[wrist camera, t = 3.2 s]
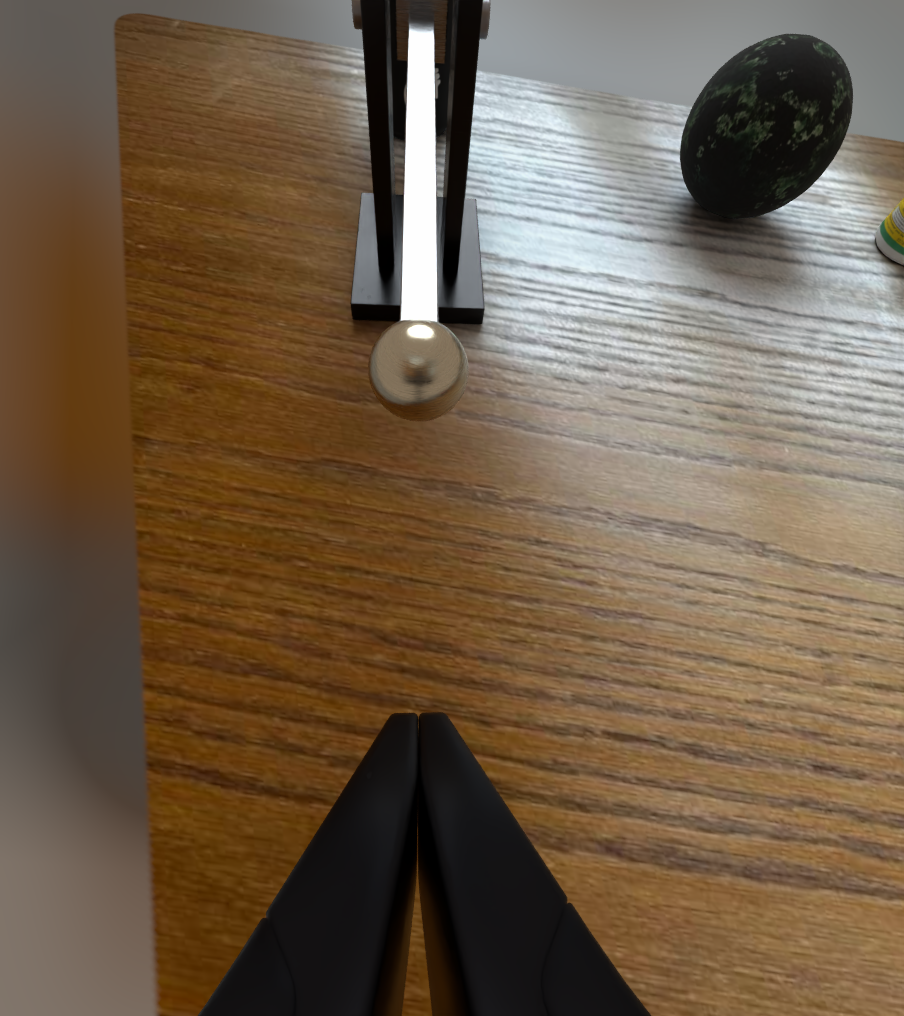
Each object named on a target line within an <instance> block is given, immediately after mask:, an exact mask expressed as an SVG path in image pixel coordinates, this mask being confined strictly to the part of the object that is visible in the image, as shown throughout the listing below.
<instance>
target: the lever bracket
mask: <svg viewBox="0 0 904 1016" xmlns="http://www.w3.org/2000/svg"><path fill="white" fill-rule="evenodd" d="M352 13H353V22H354V27H355V29H362V35H363V50H364V64H365V79H366V93H367V108H368V122H369V137H370V152H371V166H372V181H373V193H361V202H360V213H359V223H358V233H357V243H356V254H355V264H354V274H353V285H352V295H351V310H352V318H353V319H356V320H383V321H400V295H401V261H402V226H403V195H395V164H394V131H393V98H392V65H391V32H390V0H352ZM489 19H490V0H453V19H452V38H451V56H450V75H449V94H448V112H447V131H446V150H445V168H444V187H443V197H437V247H438V322H439V323H463V324H482V322H483V315H484V297H483V284H482V271H481V258H480V245H479V232H478V219H477V206H476V199H465V191H466V180H467V170H468V159H469V148H470V137H471V126H472V115H473V105H474V94H475V83H476V72H477V61H478V50H479V40H480V39H486V38H487V35H488V29H489Z"/></svg>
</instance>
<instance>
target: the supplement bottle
mask: <svg viewBox="0 0 904 1016" xmlns="http://www.w3.org/2000/svg"><path fill="white" fill-rule="evenodd" d="M875 239H876V243H877V246H878V247H879V249H880V250H881V251H882V253H883V254H884V255H886V256H887V257H888V258H890V259H891V260H893V261H895V262H897V263H899V264H901V265H903V266H904V198H903V199H902V200H901V202H900V203H899V204H898V205H897V206H896V207H895V208H894V210H893V211H892V212H891V213H890V214H889V215H888V216H887V218H886V219H885V220H884V221H883V222H882V223H881V224H880V226H879V227H878V229H877V230H876V233H875Z"/></svg>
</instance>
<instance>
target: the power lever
mask: <svg viewBox="0 0 904 1016" xmlns="http://www.w3.org/2000/svg"><path fill="white" fill-rule="evenodd" d="M395 8H396V49H397V60H399V61H407V87H406V122H405V156H404V191H403V226H402V261H401V295H400V321H399V322H397V323H395V324H393V325H391V326H390V327H388V328H387V329H386V330H385V331H384V332H383V333H382V334H381V335H380V336H379V338H378V339H377V341H376V342H375V344H374V346H373V348H372V351H371V354H370V358H369V364H368V371H369V380H370V384H371V387H372V389H373V392H374V394H375V395H376V397H377V399H378V400H379V401H380V403H381V404H382V405H383V406H384V407H385V408H386V409H387V410H389V411H390V412H391V413H393V414H394V415H396V416H398V417H400V418H403V419H406V420H410V421H428V420H433V419H436V418H438V417H441V416H442V415H444V414H446V413H447V412H448V411H450V410H451V409H452V408H453V407H454V406H455V405H456V404H457V403H458V401H459V400H460V398H461V397H462V395H463V393H464V391H465V388H466V385H467V380H468V361H467V356H466V353H465V350H464V348H463V346H462V344H461V342H460V341H459V339H458V338H457V337H456V336H455V334H454V333H453V332H452V331H451V330H449V329H448V328H447V327H445V326H444V325H442V324H440V323H439V322H438V247H437V172H436V97H435V63H439V64H445V54H446V33H447V12H448V0H395Z"/></svg>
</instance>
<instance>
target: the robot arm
mask: <svg viewBox="0 0 904 1016" xmlns="http://www.w3.org/2000/svg"><path fill="white" fill-rule="evenodd" d="M417 829H418V880H419V892H420V903H421V912H422V922H423V931H424V941H425V950H426V959H427V969H428V978H429V988H430V997H431V1007H432V1016H651V1015H650V1013H649V1012H648V1011H647V1009H646V1008H645V1007H644V1006H643V1004H642V1003H641V1002H640V1000H639V999H638V998H637V997H636V995H635V994H634V993H633V991H632V990H631V989H630V987H629V986H628V985H627V984H626V982H625V981H624V979H623V978H622V977H621V975H620V974H619V972H618V971H617V969H616V968H615V967H614V965H613V964H612V962H611V961H610V959H609V958H608V957H607V955H606V954H605V952H604V951H603V949H602V948H601V947H600V945H599V944H598V942H597V941H596V939H595V938H594V937H593V935H592V934H591V932H590V931H589V929H588V928H587V926H586V925H585V923H584V921H583V920H582V918H581V917H580V915H579V914H578V912H577V911H576V909H575V908H574V906H573V905H572V904H571V903H567V896H566V895H565V893H564V892H563V890H562V889H561V887H560V886H559V884H558V883H557V881H556V880H555V878H554V877H553V875H552V873H551V872H550V870H549V869H548V867H547V866H546V864H545V863H544V861H543V860H542V858H541V857H540V855H539V854H538V852H537V851H536V849H535V848H534V846H533V845H532V843H531V842H530V840H529V839H528V837H527V836H526V834H525V833H524V831H523V830H522V828H521V827H520V825H519V824H518V822H517V820H516V819H515V817H514V816H513V814H512V813H511V811H510V810H509V808H508V807H507V805H506V804H505V802H504V801H503V799H502V798H501V796H500V795H499V793H498V792H497V790H496V789H495V787H494V786H493V784H492V783H491V781H490V780H489V778H488V777H487V775H486V774H485V772H484V771H483V769H482V768H481V766H480V764H479V763H478V761H477V760H476V758H475V757H474V755H473V754H472V752H471V751H470V749H469V748H468V746H467V745H466V743H465V742H464V740H463V739H462V737H461V736H460V734H459V733H458V731H457V730H456V728H455V727H454V725H453V724H452V722H451V721H450V719H449V718H448V716H447V715H446V714H445V713H443V712H429V713H421V714H420V715H419V729H418V716H417V714H415V713H394V714H392V715H391V716H390V717H389V718H388V720H387V721H386V723H385V725H384V726H383V728H382V729H381V731H380V733H379V734H378V736H377V737H376V739H375V740H374V742H373V744H372V745H371V747H370V748H369V750H368V752H367V753H366V755H365V756H364V758H363V760H362V761H361V763H360V764H359V766H358V767H357V769H356V771H355V772H354V774H353V775H352V777H351V779H350V780H349V782H348V783H347V785H346V786H345V788H344V790H343V791H342V793H341V794H340V796H339V798H338V799H337V801H336V802H335V804H334V805H333V807H332V809H331V810H330V812H329V813H328V815H327V817H326V818H325V820H324V821H323V823H322V824H321V826H320V828H319V829H318V831H317V832H316V834H315V836H314V837H313V839H312V840H311V842H310V844H309V845H308V847H307V848H306V850H305V851H304V853H303V855H302V856H301V858H300V859H299V861H298V863H297V864H296V866H295V867H294V869H293V870H292V872H291V874H290V875H289V877H288V878H287V880H286V882H285V883H284V885H283V886H282V888H281V889H280V891H279V893H278V894H277V896H276V897H275V899H274V901H273V902H272V904H271V905H270V907H269V908H268V910H267V912H266V918H263V919H261V921H260V922H259V924H258V925H257V927H256V929H255V930H254V932H253V933H252V935H251V936H250V938H249V940H248V941H247V943H246V944H245V946H244V948H243V949H242V951H241V952H240V954H239V955H238V957H237V958H236V960H235V961H234V963H233V964H232V966H231V967H230V969H229V970H228V972H227V973H226V975H225V976H224V978H223V979H222V981H221V982H220V984H219V985H218V987H217V988H216V990H215V991H214V993H213V994H212V996H211V997H210V999H209V1000H208V1002H207V1003H206V1005H205V1006H204V1008H203V1009H202V1011H201V1012H200V1013H199V1015H198V1016H402V1008H403V999H404V990H405V981H406V972H407V963H408V954H409V945H410V936H411V927H412V918H413V909H414V900H415V889H416V876H417Z"/></svg>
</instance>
